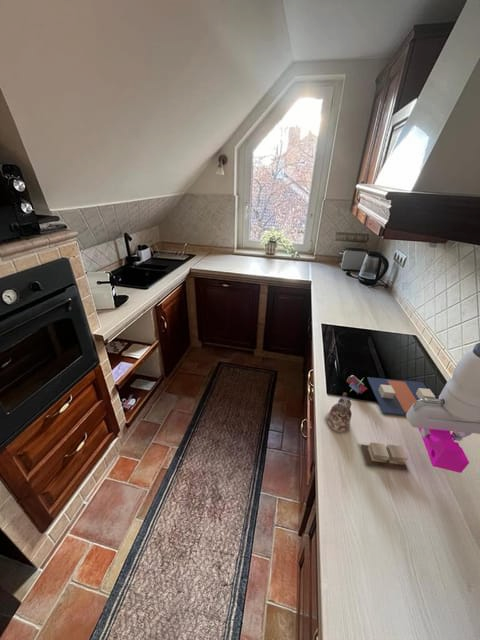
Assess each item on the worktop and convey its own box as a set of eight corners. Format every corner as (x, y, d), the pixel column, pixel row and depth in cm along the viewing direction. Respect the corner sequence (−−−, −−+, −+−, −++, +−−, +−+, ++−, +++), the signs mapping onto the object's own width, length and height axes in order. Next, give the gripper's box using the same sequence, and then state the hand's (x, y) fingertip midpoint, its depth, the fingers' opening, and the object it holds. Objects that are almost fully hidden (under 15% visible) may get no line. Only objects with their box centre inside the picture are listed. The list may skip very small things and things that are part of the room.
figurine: (325, 426, 85) (332, 401, 79) (328, 411, 91) (335, 386, 84) (347, 435, 82) (357, 409, 76) (349, 418, 88) (358, 394, 82)
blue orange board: (422, 383, 104) (425, 376, 102) (448, 420, 88) (453, 413, 86) (366, 378, 106) (369, 371, 104) (382, 413, 90) (385, 406, 88)
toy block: (460, 473, 64) (475, 455, 60) (432, 466, 65) (444, 448, 61) (438, 423, 76) (448, 406, 72) (414, 418, 77) (424, 401, 74)
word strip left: (397, 450, 78) (402, 443, 76) (406, 470, 73) (411, 462, 71) (360, 446, 79) (364, 438, 77) (367, 465, 74) (370, 457, 72)
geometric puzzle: (373, 388, 98) (364, 370, 97) (367, 399, 93) (358, 379, 93) (355, 389, 103) (347, 372, 102) (348, 399, 98) (340, 380, 98)
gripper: (424, 407, 60) (404, 443, 67) (518, 416, 58) (488, 452, 65) (412, 388, 66) (395, 423, 73) (497, 395, 64) (471, 430, 71)
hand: (439, 436), depth 69 cm, fingers closed on toy block, 6 cm apart
